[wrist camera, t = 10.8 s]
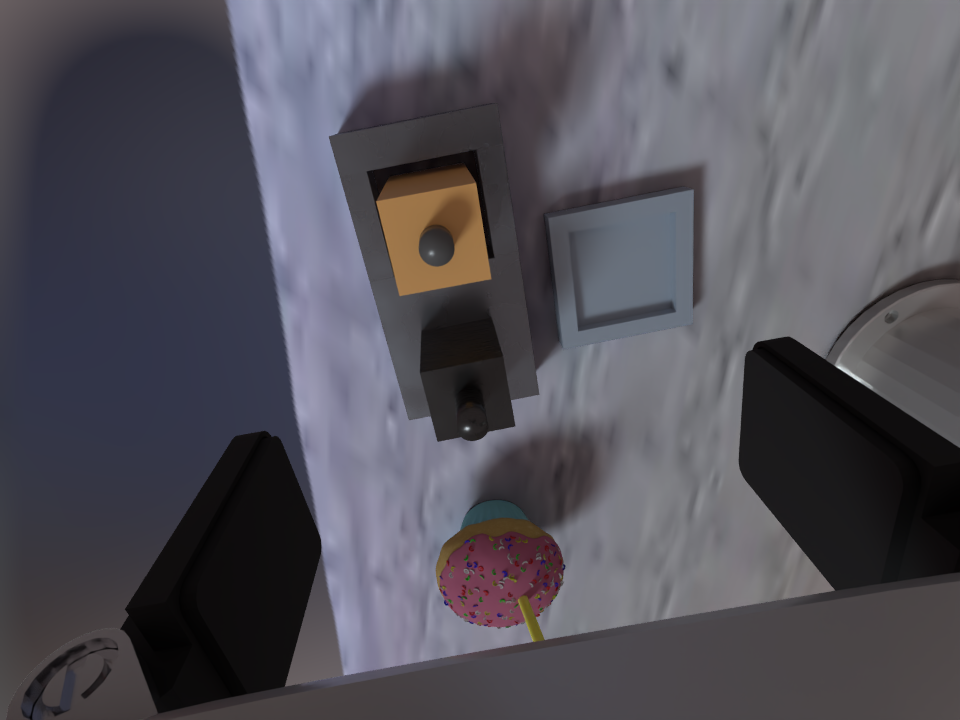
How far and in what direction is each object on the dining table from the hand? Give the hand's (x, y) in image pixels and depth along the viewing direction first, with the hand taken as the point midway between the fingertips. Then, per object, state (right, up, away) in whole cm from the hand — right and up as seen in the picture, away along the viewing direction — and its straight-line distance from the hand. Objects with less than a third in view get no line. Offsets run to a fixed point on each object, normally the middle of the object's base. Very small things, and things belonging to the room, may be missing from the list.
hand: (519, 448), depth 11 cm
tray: (+7, +7, +21) cm, 23 cm away
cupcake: (0, -11, +29) cm, 31 cm away
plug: (-3, +10, +18) cm, 21 cm away
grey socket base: (-3, +7, +20) cm, 21 cm away
